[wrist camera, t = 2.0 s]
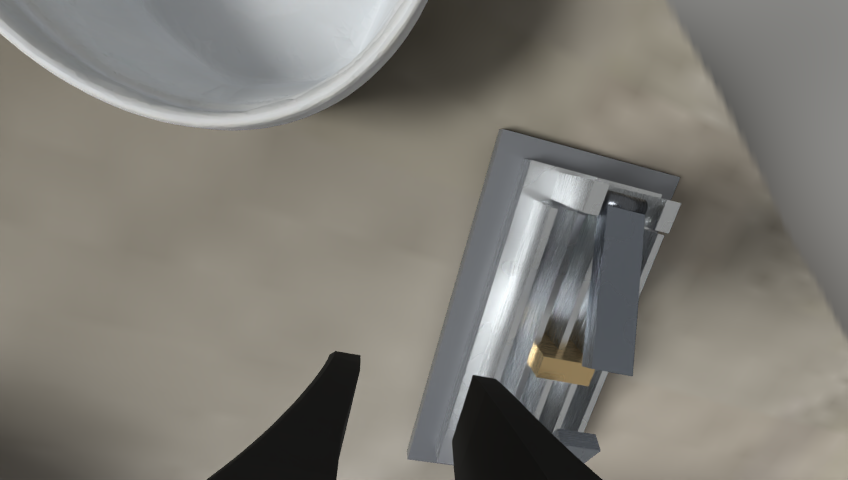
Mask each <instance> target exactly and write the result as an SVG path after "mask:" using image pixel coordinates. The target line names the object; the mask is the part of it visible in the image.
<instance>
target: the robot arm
mask: <svg viewBox="0 0 848 480" xmlns="http://www.w3.org/2000/svg"><path fill="white" fill-rule="evenodd" d="M359 372H360V355H355V354H349V353H343V352H337V351H335V352H333V353H332V354H330V355H329V358H328V360H327V361H326V363H325V365H324V366H323V368H322V369H321V371H320V372H319V373H318V375H317V376H316V377H315V379H314V380H313V381H312V383H311V384H310V385H309V386H308V387H307V388H306V390H305V391H304V392H303V393H302V394H301V396H300V397H299V398H298V399H297V400H296V401H295V402H294V403H293V404H292V405H291V407H290V408H289V409H288V410H287V411H286V412H285V413H284V414H283V415H282V416H281V417H280V418H279V419H278V420H277V421H276V422H275V423H274V424H273V425H272V426H271V427H270V428H269V429H268V430H266V431H265V432H264V433H263V434H262V435H261V436H260V437H259V438H258V439H257V440H255V441H254V442H253V443H252V444H251V445H250V446H249V447H247V448H246V449H245V450H244V451H243V452H241V453H240V454H239V455H238V456H237V457H235V458H234V459H233V460H232V461H230V462H229V463H228V464H227V465H225V466H224V467H223V468H221V469H220V470H219V471H217V472H216V473H215V474H213V475H212V476H211V477H210V478H208V479H207V480H336V477H337V469H338V460H339V456H340V452H341V447H342V443H343V439H344V435H345V431H346V426H347V422H348V418H349V414H350V410H351V405H352V401H353V397H354V393H355V389H356V384H357V380H358V376H359ZM452 450H453V463H454V473H455V480H602V479H601V478H600V477H599V476H598V475H596V474H595V473H594V472H593V471H592V470H591V469H590V468H589V467H587V466H586V465H585V464H584V463H583V462H582V461H581V460H580V459H578V458H577V457H576V456H575V455H574V454H573V453H572V452H571V451H570V450H569V449H568V448H566V447H565V446H564V445H563V444H562V443H561V442H560V441H559V440H558V439H557V438H556V437H555V436H554V435H553V434H552V433H551V432H550V431H549V430H548V429H547V428H546V427H545V426H544V425H543V424H542V423H541V422H540V421H539V420H538V419H537V418H536V417H535V416H534V415H533V414H532V413H531V412H530V411H529V410H528V409H527V408H526V407H525V406H524V405H523V404H522V403H521V402H520V401H519V400H518V399H517V398H516V397H515V396H514V395H513V394H512V393H511V392H510V391H509V390H508V389H507V388H506V387H505V386H503V385H502V384H501V383H500V382H499V381H498V380H497V379H495V378H489V377H483V376H477V375H473V376H472V379H471V382H470V386H469V389H468V392H467V395H466V398H465V401H464V405H463V408H462V411H461V414H460V417H459V420H458V423H457V427H456V430H455V433H454V436H453V439H452Z"/></svg>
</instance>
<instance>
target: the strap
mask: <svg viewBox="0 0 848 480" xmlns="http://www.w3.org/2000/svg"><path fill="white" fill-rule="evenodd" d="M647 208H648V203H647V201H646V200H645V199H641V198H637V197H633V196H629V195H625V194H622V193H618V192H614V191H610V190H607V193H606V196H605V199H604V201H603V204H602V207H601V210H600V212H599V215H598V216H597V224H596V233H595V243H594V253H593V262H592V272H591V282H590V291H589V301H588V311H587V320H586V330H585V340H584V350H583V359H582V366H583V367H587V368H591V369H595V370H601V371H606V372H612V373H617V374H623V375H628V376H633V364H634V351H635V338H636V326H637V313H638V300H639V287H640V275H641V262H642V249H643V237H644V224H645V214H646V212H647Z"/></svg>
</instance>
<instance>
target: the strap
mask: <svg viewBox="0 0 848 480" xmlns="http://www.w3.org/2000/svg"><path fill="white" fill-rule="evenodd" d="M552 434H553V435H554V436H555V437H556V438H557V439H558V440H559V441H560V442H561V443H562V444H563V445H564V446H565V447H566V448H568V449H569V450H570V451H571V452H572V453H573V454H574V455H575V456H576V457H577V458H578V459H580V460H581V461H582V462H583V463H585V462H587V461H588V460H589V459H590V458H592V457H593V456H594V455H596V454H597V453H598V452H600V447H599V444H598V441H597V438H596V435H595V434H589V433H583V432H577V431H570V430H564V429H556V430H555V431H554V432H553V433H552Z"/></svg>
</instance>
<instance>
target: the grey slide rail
mask: <svg viewBox="0 0 848 480" xmlns="http://www.w3.org/2000/svg"><path fill="white" fill-rule="evenodd" d="M607 190H610V191H614V192H618V193H622V194H625V195H629V196H633V197H637V198H641V199H645V200H646V201H647V203H648V208H647V212H646V214H645V224H644V237H643V249H642V262H641V275H640V287H639V296H640V294H641V291H642V289H643V286H644V284H645V282H646V279H647V277H648V274H649V272H650V269H651V267H652V265H653V262H654V260H655V257H656V255H657V252H658V250H659V247H660V245H661V243H662V240H663V238H664V235H662V234H659V233H657V232H654V231H651V230H648V229H649V228H650V229H653V230H656V231H660V232H665V233H669V232H670V229H671V227H672V225H673V222H674V220H675V217H676V215H677V212H678V210H679V208H680V205H681V203H678V202H674V201H671V200H667V199H662V198H661V197H662V194H658V193H654V192H651V191H647V190H643V189H639V188H635V187H632V186H628V185H624V184H620V183H616V182H613V181H609V180H605V179H601V178H598V177H594V176H590V175H586V174H582V173H579V172H575V171H571V170H567V169H563V168H560V167H556V166H552V165H548V164H544V163H541V162H537V161H533V160H528V159H523V162H522V165H521V169H520V172H519V175H518V179H517V182H516V185H515V188H514V192H513V195H512V198H511V201H510V205H509V208H508V211H507V214H506V218H505V221H504V224H503V227H502V231H501V234H500V237H499V240H498V244H497V247H496V250H495V253H494V257H493V260H492V263H491V266H490V270H489V273H488V276H487V280H486V283H485V286H484V289H483V293H482V296H481V299H480V302H479V306H478V309H477V312H476V315H475V319H474V322H473V325H472V328H471V332H470V335H469V338H468V341H467V345H466V348H465V351H464V354H463V358H462V361H461V364H460V367H459V371H458V374H457V377H456V381H455V384H454V387H453V390H452V394H451V397H450V400H449V403H448V407H447V410H446V413H445V416H444V420H443V423H442V426H441V429H440V433H439V436H438V439H437V442H436V446H435V451H436V458H437V462H439V463H447V464H454V463H453V450H452V439H453V436H454V433H455V430H456V427H457V423H458V420H459V417H460V414H461V411H462V408H463V405H464V401H465V398H466V395H467V392H468V389H469V386H470V382H471V379H472V376H473V375H477V376H483V377H489V378H495V379H497V380H498V381H499V382H500V383H501V384H502V385H503V386H505V387H506V388H507V389H508V390H509V391H510V392H511V393H512V394H513V395H514V396H515V397H516V398H517V399H518V400H519V401H520V402H521V403H522V404H523V405H524V406H525V407H526V408H527V409H528V410H529V411H530V412H531V413H532V414H533V415H534V416H535V417H536V418H537V419H538V420H539V421H540V422H541V423H542V424H543V425H544V426H545V427H546V428H547V429H548V430H549V431H550V432H551V433H553V432H554V431H555V430H556V429H564V430H570V431H577V432H584V430H585V428H586V425H587V423H588V420H589V418H590V415H591V413H592V411H593V408H594V406H595V403H596V401H597V398H598V396H599V393H600V391H601V389H602V386H603V384H604V381H605V379H606V376H607V374H608V372H606V371H601V370H595V369H591V368H587V367H583V366H582V359H583V350H584V340H585V330H586V320H587V311H588V301H589V291H590V282H591V272H592V262H593V253H594V243H595V233H596V224H597V216H598V215H599V212H600V210H601V207H602V204H603V201H604V199H605V196H606V193H607Z"/></svg>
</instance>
